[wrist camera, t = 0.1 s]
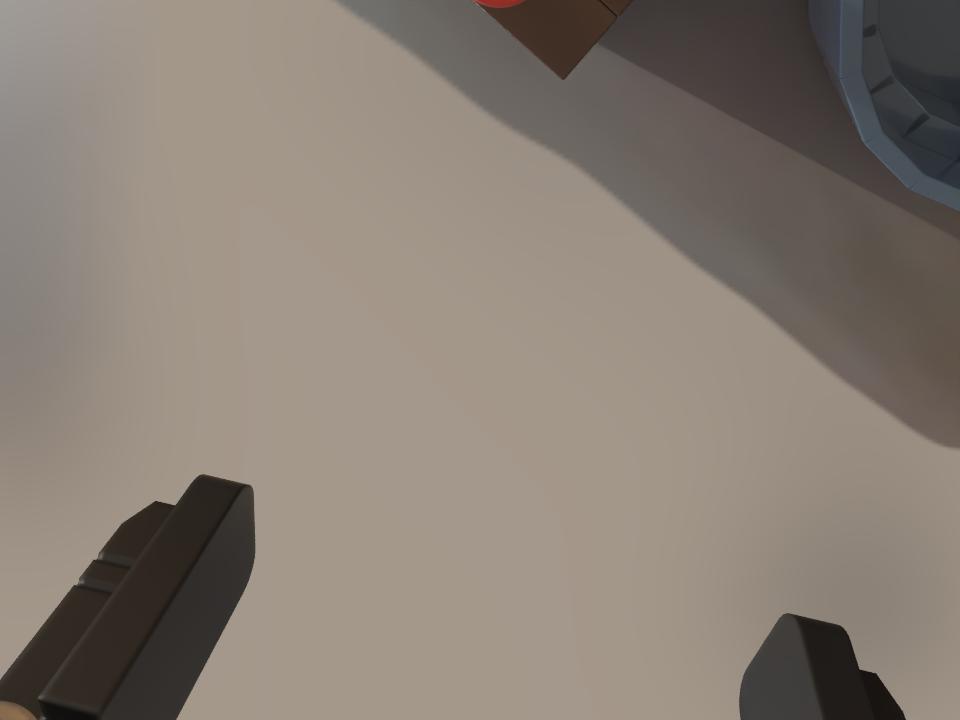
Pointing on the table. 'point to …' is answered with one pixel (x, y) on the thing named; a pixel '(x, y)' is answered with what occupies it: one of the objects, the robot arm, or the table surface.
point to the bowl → (899, 84)
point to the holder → (558, 27)
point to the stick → (499, 3)
